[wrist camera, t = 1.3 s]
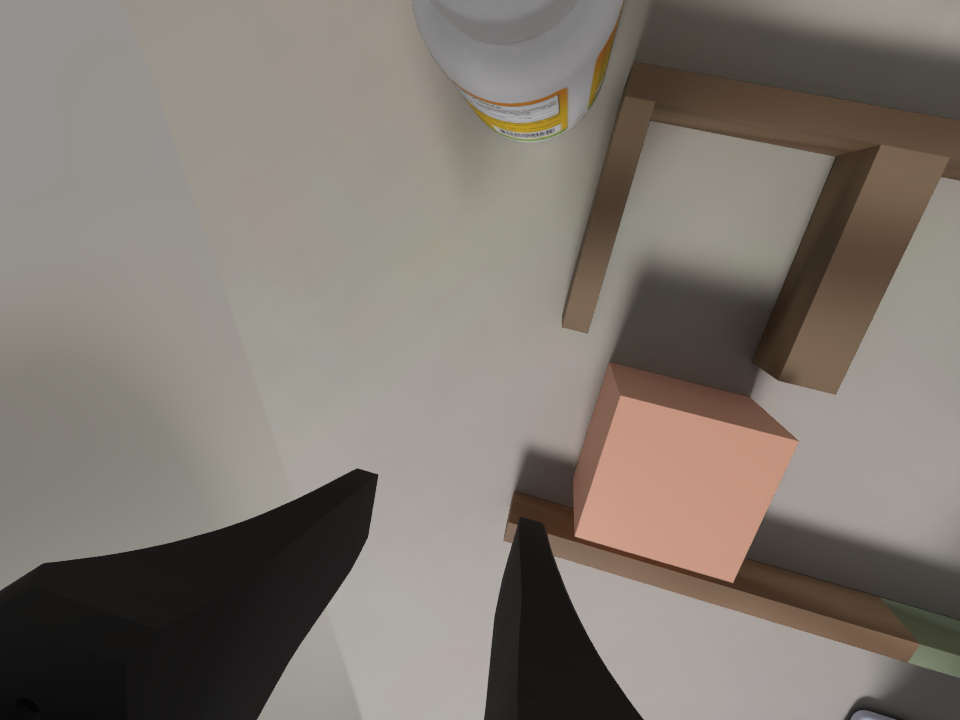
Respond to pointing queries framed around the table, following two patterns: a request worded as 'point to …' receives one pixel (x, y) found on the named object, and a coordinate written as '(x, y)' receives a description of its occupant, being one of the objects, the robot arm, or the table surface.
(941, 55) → the table surface
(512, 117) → the supplement bottle
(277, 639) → the robot arm
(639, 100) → the frame
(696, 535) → the terracotta block
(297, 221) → the table surface
